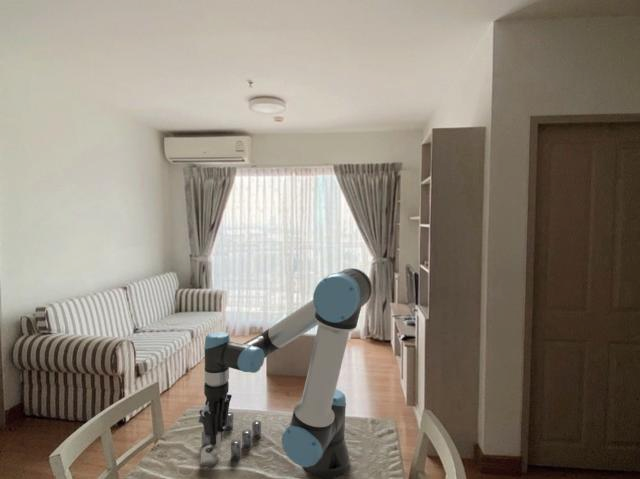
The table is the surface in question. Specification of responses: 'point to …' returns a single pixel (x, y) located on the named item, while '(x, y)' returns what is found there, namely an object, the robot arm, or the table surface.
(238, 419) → the table surface
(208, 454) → the silver metal cylinder
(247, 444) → the spacer field
